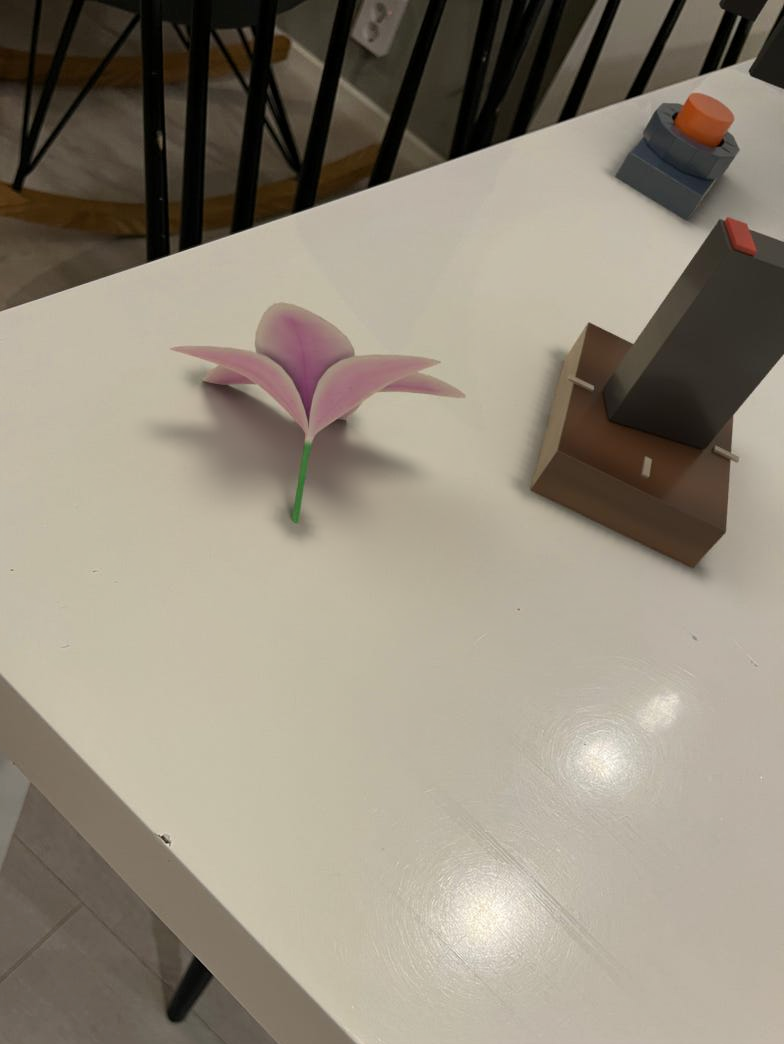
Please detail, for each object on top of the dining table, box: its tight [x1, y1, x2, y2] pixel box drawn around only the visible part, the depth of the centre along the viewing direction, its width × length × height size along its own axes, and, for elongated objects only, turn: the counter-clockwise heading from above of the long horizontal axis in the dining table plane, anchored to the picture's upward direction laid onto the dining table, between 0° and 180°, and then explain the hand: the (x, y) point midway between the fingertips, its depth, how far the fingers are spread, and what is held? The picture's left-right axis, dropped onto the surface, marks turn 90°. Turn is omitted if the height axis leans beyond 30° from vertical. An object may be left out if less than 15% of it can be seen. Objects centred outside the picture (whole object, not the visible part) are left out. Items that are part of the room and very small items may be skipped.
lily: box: [169, 301, 467, 524], centre depth 46 cm, size 12×12×10 cm
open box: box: [603, 216, 784, 449], centre depth 51 cm, size 6×2×10 cm, turn 87°
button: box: [674, 92, 735, 147], centre depth 77 cm, size 4×4×2 cm
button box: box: [614, 102, 741, 222], centre depth 79 cm, size 10×6×4 cm, turn 150°
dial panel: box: [530, 321, 740, 569], centre depth 56 cm, size 12×10×3 cm
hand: (751, 45), depth 73 cm, fingers open, 9 cm apart
